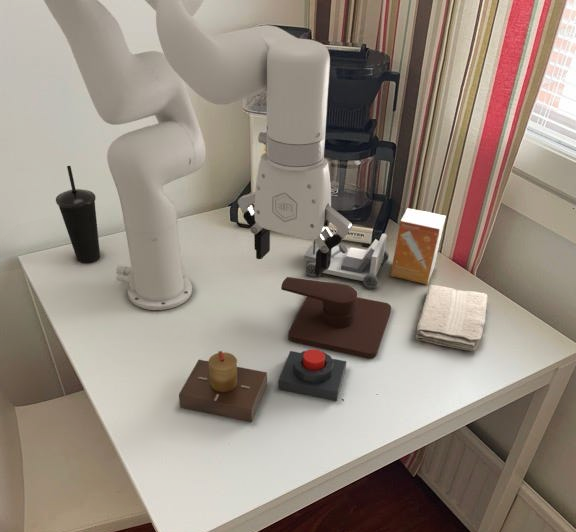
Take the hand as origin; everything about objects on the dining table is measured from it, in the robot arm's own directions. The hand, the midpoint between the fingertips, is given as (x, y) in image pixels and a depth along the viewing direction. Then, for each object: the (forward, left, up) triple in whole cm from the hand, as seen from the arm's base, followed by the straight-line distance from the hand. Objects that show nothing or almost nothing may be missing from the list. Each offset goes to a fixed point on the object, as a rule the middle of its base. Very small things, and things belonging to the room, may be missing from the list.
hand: (291, 263), depth 91 cm
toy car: (+3, +36, -22) cm, 42 cm away
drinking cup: (-50, +24, -22) cm, 60 cm away
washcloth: (+27, +23, -22) cm, 41 cm away
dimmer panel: (-8, -9, -22) cm, 25 cm away
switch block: (+5, -1, -22) cm, 22 cm away
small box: (+18, +38, -22) cm, 47 cm away
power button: (+5, -1, -18) cm, 18 cm away
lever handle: (+5, +16, -22) cm, 27 cm away
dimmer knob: (-8, -9, -18) cm, 22 cm away
